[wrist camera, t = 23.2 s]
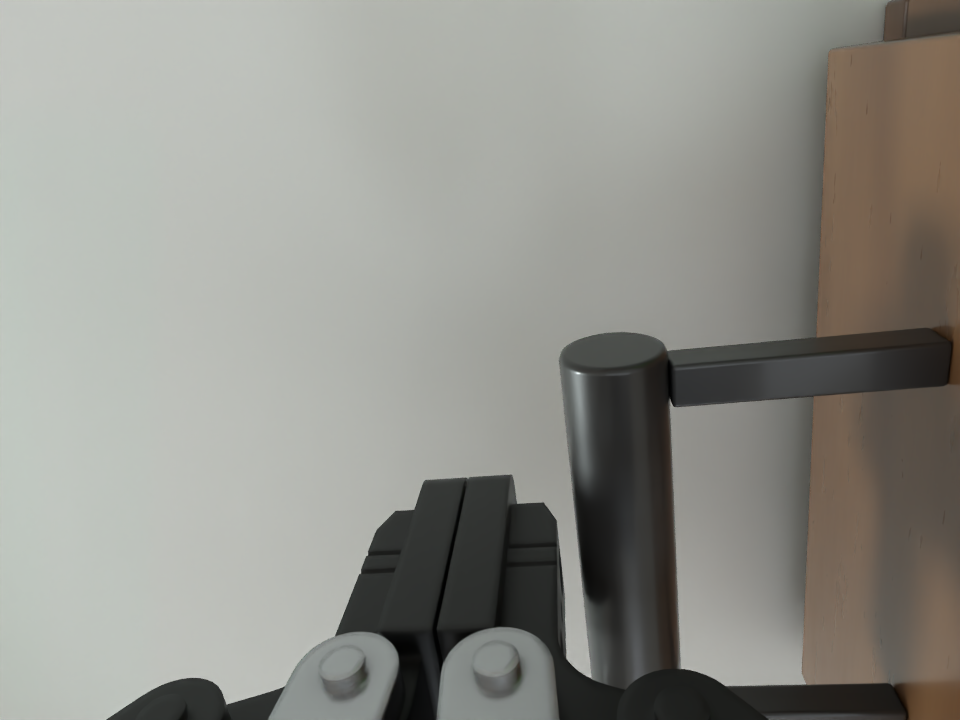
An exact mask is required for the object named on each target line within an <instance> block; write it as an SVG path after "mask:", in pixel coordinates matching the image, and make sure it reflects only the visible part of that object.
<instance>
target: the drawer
mask: <svg viewBox="0 0 960 720" xmlns="http://www.w3.org/2000/svg"><path fill="white" fill-rule="evenodd" d="M559 365H560V375H561V384H562V394H563V404H564V414H565V423H566V433H567V443H568V452H569V462H570V472H571V481H572V491H573V501H574V510H575V520H576V530H577V539H578V549H579V559H580V568H581V578H582V588H583V597H584V607H585V617H586V626H587V636H588V646H589V655H590V665H591V675H592V679H593V680H595V681H597V682H600V683H603V684H606V685H610V686H614V687H617V688H621V689H625V690H626V689H627V687H628V686H629V685H630V684H631V683H633V682H634V681H635V680H636V679H638V678H640V677H641V676H643V675H645V674H648V673H651V672H653V671H658V670H663V669H681V663H680V638H679V614H678V590H677V565H676V541H675V516H674V492H673V468H672V443H671V419H670V399H671V402H672V404H673V406H674V407H686V406H699V405H711V404H724V403H737V402H749V401H762V400H775V399H788V398H800V397H813V396H814V402H813V425H812V448H811V471H810V495H809V518H808V541H807V564H806V588H805V611H804V634H803V657H802V675H803V677H804V679H805V682H806V684H807V685H766V686H726V687H727V688H728V689H730V690H731V691H732V692H734V693H735V694H736V695H737V696H739V697H740V698H741V699H743V700H744V701H745V702H747V703H748V704H749V705H751V706H752V707H753V708H754V709H756V710H757V711H758V712H760V713H761V714H762V715H764V716H765V717H766V718H768V719H769V720H960V31H955V32H947V33H939V34H931V35H923V36H915V37H907V38H900V39H893V40H886V41H879V42H873V43H866V44H859V45H852V46H845V47H839V48H833V49H831V50H830V51H829V54H828V77H827V100H826V123H825V146H824V169H823V193H822V216H821V239H820V262H819V286H818V309H817V332H816V338H805V339H794V340H783V341H772V342H761V343H750V344H739V345H728V346H717V347H705V348H694V349H683V350H672V351H667V349H666V347H665V345H664V344H663V343H662V342H661V341H660V340H658V339H656V338H654V337H651V336H648V335H643V334H637V333H626V332H616V333H604V334H598V335H593V336H589V337H585V338H582V339H579V340H577V341H574V342H572V343H570V344H569V345H567V346H566V347H565V348H564V349H563V350H562V352H561V354H560V357H559Z"/></svg>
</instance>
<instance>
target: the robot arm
mask: <svg viewBox="0 0 960 720" xmlns="http://www.w3.org/2000/svg"><path fill="white" fill-rule="evenodd" d="M565 639H566V633H565V594H564V585H563V575H562V566H561V557H560V548H559V539H558V530H557V520H556V519H555V518H554V516H553V515H552V513H551V512H550V511H549V509H548V508H547V506H546V505H545V504H544V502H543V503H526V504H517V501H516V493H515V486H514V480H513V477H512V475H498V476H482V477H470V478H469V479H468V478H453V479H437V480H425V481H424V482H423V485H422V488H421V491H420V494H419V497H418V500H417V504H416V507H415V510H407V511H395V512H394V513H393V514H392V515H391V516H390V517H389V518H388V519H387V520H386V521H385V522H384V523H383V524H382V525H381V526H380V527H379V528H378V529H377V530H376V533H375V535H374V538H373V541H372V543H371V546H370V548H369V551H368V556H366V558H365V561H364V564H363V566H362V569H361V574H359V576H358V579H357V582H356V584H355V587H354V589H353V592H352V594H351V597H350V599H349V602H348V605H347V607H346V610H345V612H344V615H343V617H342V620H341V622H340V625H339V628H338V630H337V633H336V635H335V637H333V638H330V639H328V640H326V641H324V642H322V643H321V644H319V645H317V646H316V647H315V648H313V649H312V650H311V651H309V652H308V653H307V654H306V655H305V656H304V657H303V658H302V659H301V661H300V662H299V663H298V664H297V666H296V668H295V669H294V671H293V673H292V675H291V677H290V678H289V680H288V682H287V684H286V686H285V687H283V688H280V689H277V690H274V691H272V692H268V693H265V694H262V695H258V696H255V697H251V698H248V699H245V700H241V701H238V702H234V703H231V704H228V705H226V702H225V699H224V697H223V694H222V691H221V690H220V689H219V687H218V686H217V685H216V684H214V683H213V682H211V681H208V680H206V679H201V678H187V679H180V680H176V681H172V682H169V683H167V684H164V685H161V686H159V687H157V688H155V689H153V690H151V691H150V692H148V693H146V694H145V695H143V696H141V697H140V698H138V699H137V700H135V701H134V702H132V703H131V704H129V705H128V706H126V707H125V708H123V709H122V710H120V711H119V712H117V713H116V714H114V715H113V716H111V717H110V718H108V719H107V720H769V719H768V718H766V717H765V716H764V715H762V714H761V713H760V712H758V711H757V710H756V709H754V708H753V707H752V706H751V705H749V704H748V703H747V702H745V701H744V700H743V699H741V698H740V697H739V696H737V695H736V694H735V693H734V692H732V691H731V690H730V689H728V688H727V687H726V686H724V685H723V684H721V683H720V682H718V681H717V680H715V679H713V678H711V677H709V676H707V675H704V674H701V673H698V672H695V671H690V670H685V669H663V670H658V671H653V672H651V673H648V674H645V675H643V676H641V677H640V678H638V679H636V680H635V681H634V682H633V683H631V684H630V685H629V686H628V687H627V689H626V690H625V689H621V688H617V687H614V686H610V685H606V684H603V683H600V682H597V681H595V680H593V679H591V678H588V677H586V676H585V675H583V674H582V673H580V672H579V671H577V670H576V669H575V668H574V667H573V666H572V665H571V664H570V663H569V662H568V660H567V659H566V641H565Z"/></svg>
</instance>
